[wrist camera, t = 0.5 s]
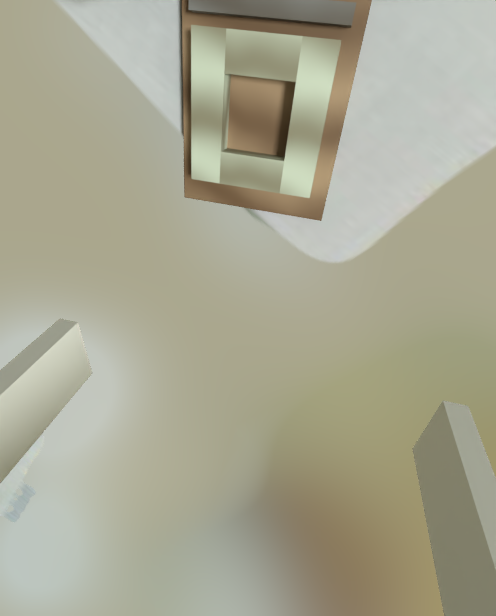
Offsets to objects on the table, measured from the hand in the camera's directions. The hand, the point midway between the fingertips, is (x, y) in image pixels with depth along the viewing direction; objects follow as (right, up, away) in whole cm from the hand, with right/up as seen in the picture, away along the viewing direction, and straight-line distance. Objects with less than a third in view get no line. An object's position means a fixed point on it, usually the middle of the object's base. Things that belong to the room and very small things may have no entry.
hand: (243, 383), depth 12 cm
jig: (+1, +20, +17) cm, 26 cm away
